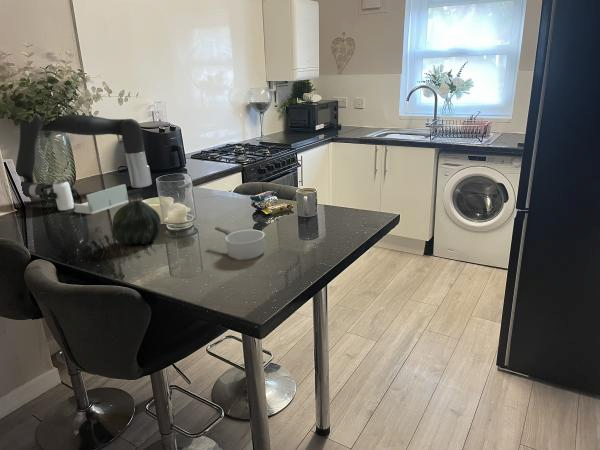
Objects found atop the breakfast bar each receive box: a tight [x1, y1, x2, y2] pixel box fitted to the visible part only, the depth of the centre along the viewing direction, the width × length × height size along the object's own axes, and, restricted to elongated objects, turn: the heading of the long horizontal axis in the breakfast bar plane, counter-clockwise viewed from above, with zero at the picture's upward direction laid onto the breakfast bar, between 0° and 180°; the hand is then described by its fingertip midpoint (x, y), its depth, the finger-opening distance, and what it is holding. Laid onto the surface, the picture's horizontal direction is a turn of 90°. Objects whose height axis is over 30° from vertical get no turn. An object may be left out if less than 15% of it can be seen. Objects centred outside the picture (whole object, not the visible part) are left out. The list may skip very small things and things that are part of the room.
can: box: [52, 179, 75, 212], centre depth 195 cm, size 6×6×12 cm
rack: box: [73, 183, 130, 215], centre depth 195 cm, size 19×11×8 cm, turn 151°
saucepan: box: [214, 226, 266, 261], centre depth 134 cm, size 12×20×6 cm, turn 44°
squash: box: [111, 199, 162, 245], centre depth 146 cm, size 14×15×15 cm
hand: (65, 193), depth 194 cm, fingers open, 8 cm apart
